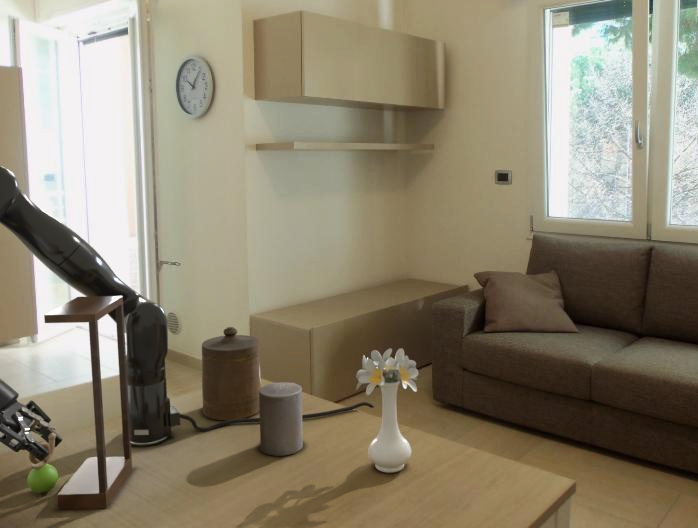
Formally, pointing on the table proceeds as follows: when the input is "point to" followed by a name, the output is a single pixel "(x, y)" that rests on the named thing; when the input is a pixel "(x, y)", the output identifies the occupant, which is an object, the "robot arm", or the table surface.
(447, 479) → the table surface
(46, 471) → the snail figurine
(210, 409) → the wooden container
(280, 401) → the pillar candle
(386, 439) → the flower vase
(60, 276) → the robot arm
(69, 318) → the shelf unit
